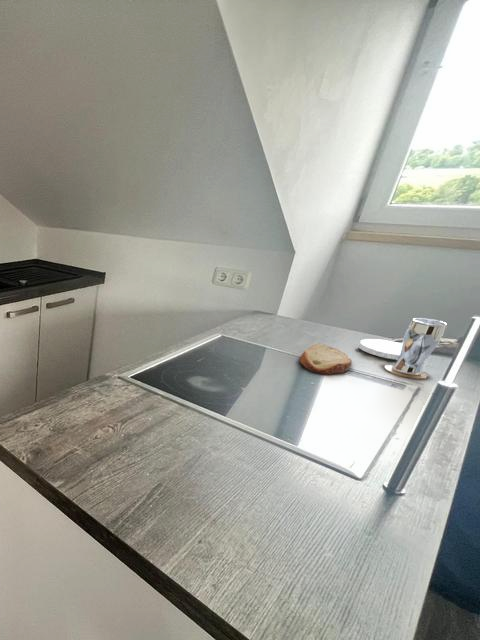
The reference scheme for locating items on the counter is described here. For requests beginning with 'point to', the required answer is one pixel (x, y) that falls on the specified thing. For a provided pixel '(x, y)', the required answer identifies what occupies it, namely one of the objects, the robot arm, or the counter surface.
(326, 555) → the counter surface
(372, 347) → the plastic lid
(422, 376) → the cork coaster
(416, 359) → the beer glass
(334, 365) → the bread slice
